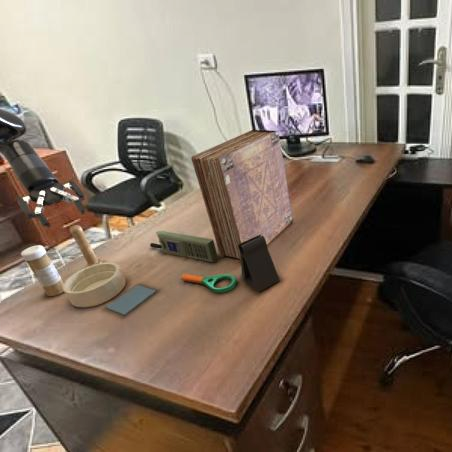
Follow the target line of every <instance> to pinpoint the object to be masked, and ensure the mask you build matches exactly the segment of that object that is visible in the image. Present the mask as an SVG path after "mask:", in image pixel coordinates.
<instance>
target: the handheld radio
mask: <svg viewBox="0 0 452 452" xmlns="http://www.w3.org/2000/svg"><path fill="white" fill-rule="evenodd" d="M155 234H157V235H156V236H157V238H158V242H159V243H155V242H151V243H150V244H149V247H150V248H154V249H158V250H159V249H160V250H162V251H161V252H162V253H164V254H169V255H174V256H180V257H185V258H188V259H189V258H190V259H195V260H199V261H205V262H209V263H216V262H217V261H218V260H219V255H218V253H217V249H216V244H215V241H214V239H213V238H210V237H209V238H208V237H202V236H197V235H196V236H195V235H190V234H184V233H177V232H172V231H166V230H158V231H155Z"/></svg>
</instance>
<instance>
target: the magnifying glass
mask: <svg viewBox="0 0 452 452" xmlns="http://www.w3.org/2000/svg"><path fill="white" fill-rule="evenodd" d="M227 279H228V280H230V281H231V282H230V283H229V284H228V285H227V286H224V287H220V288H218V287H215V286H214V285H215V284H216V283H217V282H219V281H221V280H227ZM181 280H182V281H185V282H190V283H196V284H201V285H204V286H206V288H208V289H209V290H210V291H212V292H213V293H215V294H223V293H227V292H230V291H232V290H233V289H235V287H236V285H237V281H236V280H237V279H236V277H235V276H234V275H232V274H229V273H224V274H215V275H209V276H201V275H196V274H189V273H184V274H183V275H182V276H181Z"/></svg>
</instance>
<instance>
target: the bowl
mask: <svg viewBox="0 0 452 452" xmlns="http://www.w3.org/2000/svg"><path fill="white" fill-rule="evenodd" d="M126 281H127V279H126V277H125V275H124V272H123V271H122V268H121V267H120V265H119V264H118V263H116V262H110V261H107V262H102V263H99V264H95V265H92V266H89V267H87V268H86V267H85V268H83V269H80V270H79V271H77V272H74V274H72V275H70V277H68V278H67V279H66V280H65V281H64V285H63V290H64V291H63V292H64V294H65V295H66V297H67V298H68V300H69V302H70V303H71V305H72V306H73V307H76V308H92V307H96V306H99V305H102V304H104V303H106V302H108V301H110V300H112V299H113V298H115V297H116V296H117V295H119V294H120V293H121V292H122V291H123V289H124V287H125V286H126V284H127V282H126Z"/></svg>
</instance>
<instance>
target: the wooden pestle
mask: <svg viewBox="0 0 452 452" xmlns="http://www.w3.org/2000/svg"><path fill="white" fill-rule="evenodd" d="M69 232H70V234H71V236H72V237H73V239H74V241H75V243H76V245H77V246H78V249H79V251H80V252H81V254H82V256H83V258H84V260H85V261H86V264H85V268H87V267H89V266H92V265H95V264H99V263H103V260H102V259H101V258H98V257H97V255H96V254H95V252H94V249H93V248H92V246H91V244H90V241H89V240H88V238H87V236H86V234H85V232H84V230H83V228H82V227H81V225H79V224H76V225H72V226H71V227H70V228H69Z"/></svg>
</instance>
